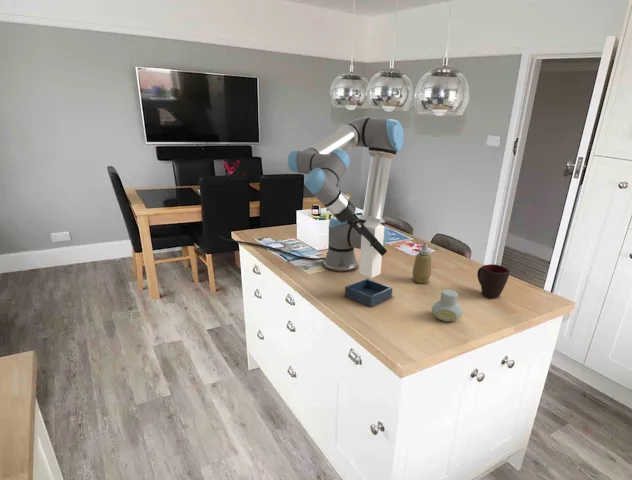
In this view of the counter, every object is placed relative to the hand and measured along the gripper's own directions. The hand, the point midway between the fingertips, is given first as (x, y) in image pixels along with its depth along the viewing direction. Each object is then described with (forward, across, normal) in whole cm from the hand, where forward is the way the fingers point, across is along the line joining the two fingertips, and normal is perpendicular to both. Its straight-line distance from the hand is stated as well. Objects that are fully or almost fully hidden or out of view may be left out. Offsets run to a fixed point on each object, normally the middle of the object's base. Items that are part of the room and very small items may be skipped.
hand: (379, 249), depth 157 cm
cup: (+47, +8, +20) cm, 52 cm away
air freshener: (+27, +23, -1) cm, 35 cm away
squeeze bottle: (+32, -11, +4) cm, 34 cm away
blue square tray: (+11, 0, -16) cm, 20 cm away
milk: (+5, 0, -9) cm, 10 cm away
